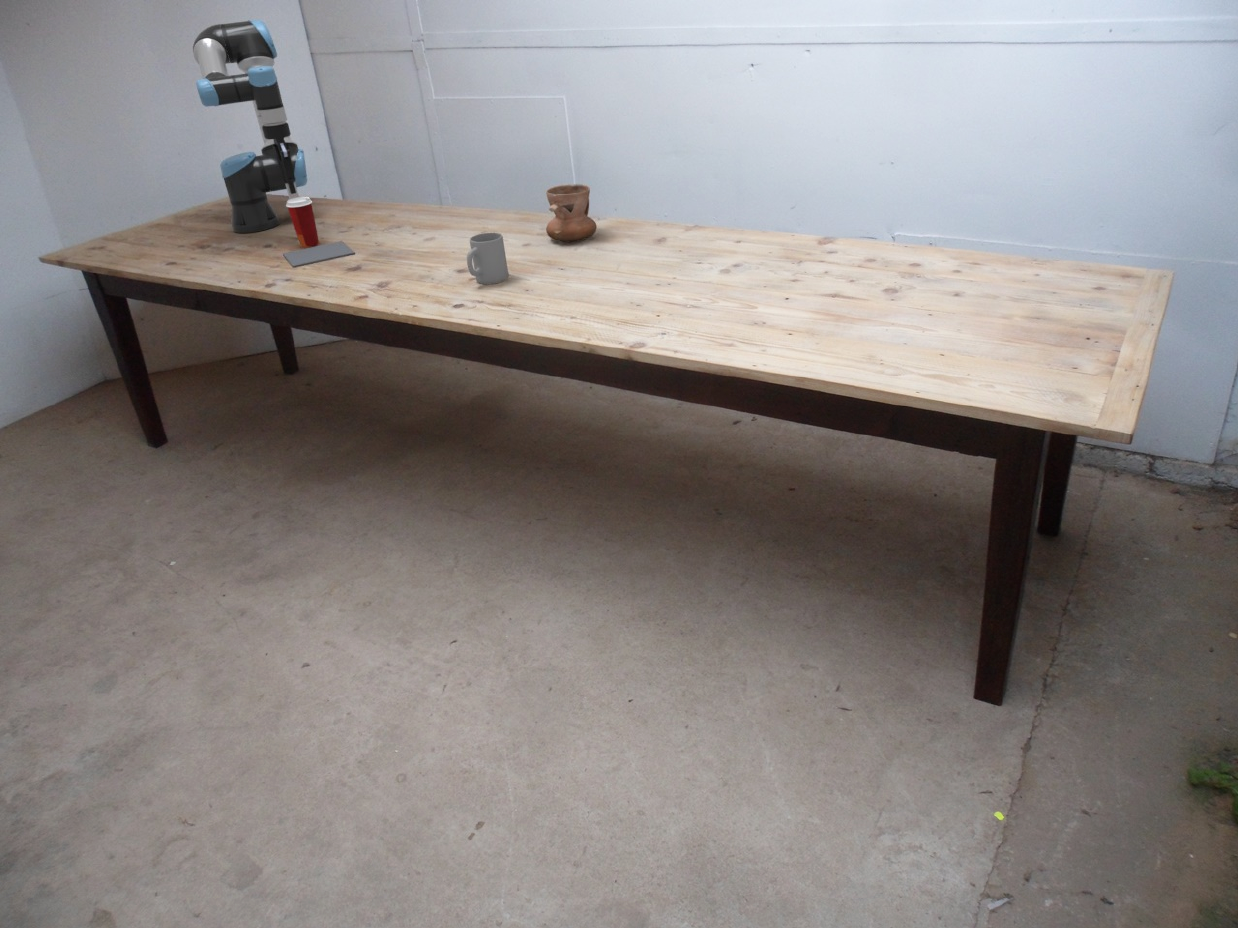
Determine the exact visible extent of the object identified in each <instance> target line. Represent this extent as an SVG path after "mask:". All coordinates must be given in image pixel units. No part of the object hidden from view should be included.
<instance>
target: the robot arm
mask: <svg viewBox="0 0 1238 928" xmlns="http://www.w3.org/2000/svg"><path fill="white" fill-rule="evenodd" d="M192 54H193V57H194V60H195V61H196V63H197V64H198V66H199V68H200V73H201V78H202V79H198V80H196V82H195V85H196V88H197V92H198V95H199V99H200V102H201V104H202V106H204V107H218V106H224V105H231V104H239V103H245V102H252V104H253V107H254V111H255V115H256V117H257V122H258V125H259V130H260V132H261V136H262V140H263V144H264V145H263V146H262V147H261V149H260V151H261V155H256V153H255V152H254V151H247V152H241V153H239V154H234V155H232V156H229V157H227V158H225V159H223V160H222V161H221V163H220V171H221V175H222V176H221V177H222V179H223V181H224V185H225V188H226V192H227V195H228V198H229V202H230V205H231V228H232V231H233V232H234V233H237V234H238V233H239V234H249V233H256V232H263V231H267V230H269V229H272V228H276V227H277V226H279V225H280V218H279V216H278V214H277V213H276V211H275V209H274V208H273V206H272V204H271V203H270V202H269V199H268V197H267V196H268V195H267V193H271V192H277V191H283V190H286V191H287V195H288V198H289V199H288V200H290V199H293V198H297V197H300V196H299V192H298V189H297V188H300V187H304V186H306V185H307V183H308V174H307V168H306V159H305V153H304V150H303V149H301V148H299V147H298V146H299V145H298V144H297V143H296V142H295V141H294V140H292V138H291V130H290V126H289V125H290V124H289V123H288V122H287V120H288V117H287V114H286V113H287V112H286V109H285V106H284V103H283V99H282V94H281V91H280V87H279V83H278V77H277V75H276V71H275V69H274V65H275V59H276V58H277V57H278V53H277V49H276V46H275V44H274V40H273V38H272V35H271V33H270V30H269V28H268V26H267V25H266V24H265V22H263V21H262V20H260V19H259V20H258V19H257V20H246V21H237V22H229V23H221V24H220V23H217V24H214V25H211V26H209V27H206V28H205V29H204V30H202V31H201V32H200V33H199V34H198V36H197V37H196V38H195V40H194V42H193V46H192ZM235 63H236V65H237V68H238V69H239V70H240V71H242V72H243V73H240V74H235V75H229V71H228V69H227V66H226V64H228V65H229V64H235Z"/></svg>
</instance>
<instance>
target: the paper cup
mask: <svg viewBox="0 0 1238 928" xmlns="http://www.w3.org/2000/svg"><path fill="white" fill-rule="evenodd" d="M285 207H286V208H287V209H288V213H289V215H290V218H291V222H292V225H293V228H294V231H295V234H296V236H297V240H298V243H299V245H300V248H302V249H306V248H311V247H315V246H319V245H320V241H319V236H318V231H317V225H316V220H315V215H314V210H313V209H314V208H313V201H312V200H311V198H310V197H309V196H299V197H297V198H293V199H290V200H289V199H288V200H286V205H285ZM318 244H319V245H318Z"/></svg>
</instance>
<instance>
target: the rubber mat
mask: <svg viewBox="0 0 1238 928" xmlns="http://www.w3.org/2000/svg"><path fill="white" fill-rule="evenodd" d="M355 254H356V252H355V251H354V250H353V249H352V248H350V247H349V246H348V245H347V244H346V242H344V241H343V240H341V241H340V240H339V241H335V242H330V243H325V244H321V245H320V244H319V245H317V246H314V247H310V248H302V249H297V250H293V251H292V250H291V251H288V252H284V253H282V255H283V257H284V258H285V259H286V260H287V262H288V263H289V264H290V266H291V267H292V268H297V267H298V266H299V267H303V266H308V265H312V264H316V263H321V262H325V261H331V260H335V259H340V258H343V257H348V256H353V255H355Z"/></svg>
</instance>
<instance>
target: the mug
mask: <svg viewBox="0 0 1238 928" xmlns="http://www.w3.org/2000/svg"><path fill="white" fill-rule="evenodd" d="M469 244H470V245H469V246H470V250H469V251H468V253H467V255H466V264H467V265H466V266H467V269H468V271H469V274H470V275H471V276H473V277H475V281H476V282H477V283H478V284H482V285H495V284H499V283H503V282H505V281H506V280H508V279H509V269H508V262H507V257H506V251H505V244H504V237H503V235H502V234H501V233H499V232H483V233H479V234H475V235H474V236H472V237H470V238H469Z"/></svg>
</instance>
